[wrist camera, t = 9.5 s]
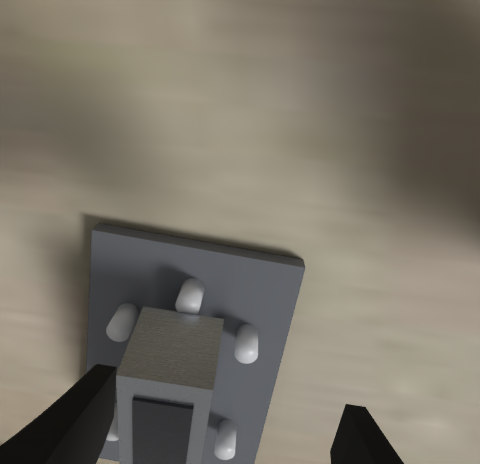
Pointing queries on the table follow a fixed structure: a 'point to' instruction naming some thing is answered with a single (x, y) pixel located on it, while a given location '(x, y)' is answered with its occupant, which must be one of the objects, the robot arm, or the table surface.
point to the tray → (205, 304)
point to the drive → (167, 387)
